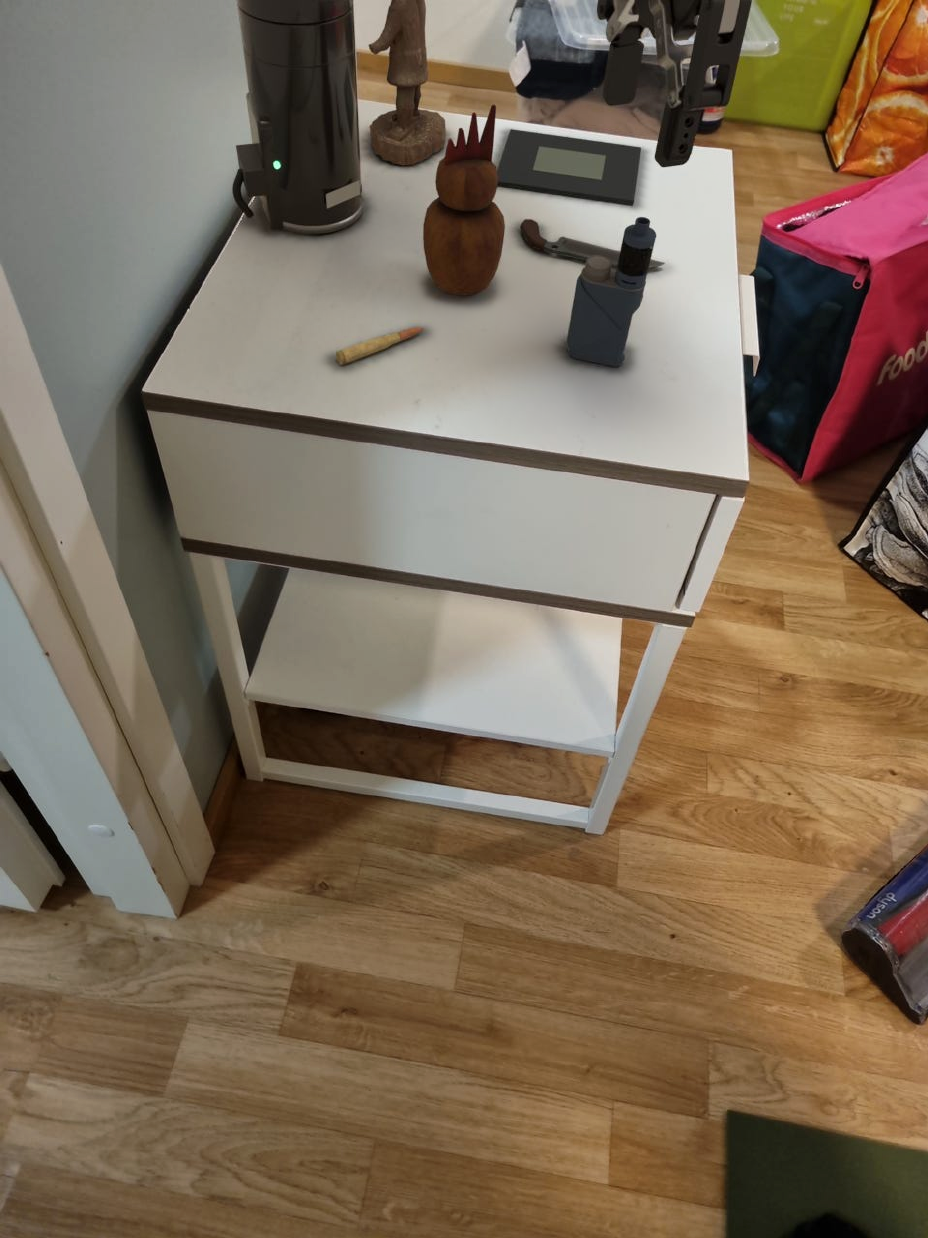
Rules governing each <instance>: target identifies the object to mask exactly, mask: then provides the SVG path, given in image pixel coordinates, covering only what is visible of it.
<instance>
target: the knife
mask: <svg viewBox="0 0 928 1238" xmlns="http://www.w3.org/2000/svg"><path fill="white" fill-rule="evenodd" d="M520 231H521V235H522V236H523V237H524V239H525V241H526V242H527V244H528V245H529V246H531V247H533V248H534V249H536V250H538V251H541V252H547V253H549V254H552V255H557V256H565V257H569V258H570V257H571V258H573V259H578V260H582V261H585V262H586V259H587V258H588V257H590V256H593V255H601V256H605V257H607V258H609V259H610V260H611V262H612V267H611V268H613V269H617V264H618V260H619V255H620V250H616V249H612V248H609V247H604V246H600V245H597V244H593V243H589V242H585V241H582V240H577V239H573V238H569V237H566V236H560V237H559V238H558V239H557V241H549V240H548V239H546V238H544V237H542V236H541V233H540V226H539V222H537V221H536V220H534V219H531V218H525V219H523V220H522V222H521V224H520ZM663 265H665V262H663V261H659V260H656V259H652V258H651V260H650V264H649V268H648V270H649V269H654V268H658V267H661V266H663Z"/></svg>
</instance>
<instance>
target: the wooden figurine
mask: <svg viewBox="0 0 928 1238" xmlns="http://www.w3.org/2000/svg"><path fill="white" fill-rule="evenodd" d="M496 114H497V106H496V104H492V105H491V106H490V109H489V113H488V115H487V118H486V121H485V124H484V127H483V130H482V134H481V137H479V127H478V116H477V113H476V111H475V112H472V113H471V117H470V122H469V129H468V133H467V139H466V136H465V130H464V128H463V127H459V128H458V134H457V138H456V145H455V143H454V141H453V139H452V138H449V139H448V140H447V144H446V148H445V153H444V157H443V158H442V159H440V160H439V162H438V165H437V168H436V172H435V181H434V182H435V183H434V184H435V191H436V193H437V196H438V197H437V198H435V199H434V200H433V201H432V202H431V203H430V204H429V205H428V206H427V208H426V211H425V216H424V221H423V224H422V229H423V230H422V241H423V251H424V257H425V263H426V268H427V271H428V272H429V276H430V278H431V280H432V283H433V284H434V286H436V287H437V288H439V289H440V290H441V291H443V292H446V293H449V294H451V295H456V296H472V295H477V294H479V293H481V292H483V291H486V290H487V288H489V286H490V285H491V283H492V282H493V279H494V278H495V275H496V273H497V271H498V268H499V264H500V261H501V258H502V252H503V248H504V247H503V245H504V240H505V232H506V231H505V229H506V222H505V216H504V214H503V213H502V211H501V210H500V207H498V205H497V203H496V202H494V199H495V196H496V193H497V189H498V186H497V184H498V173H497V169H498V168H497V166H496V165H495V163H494V162H493V153H494V144H495V143H494V141H495V131H496V130H495V129H496Z"/></svg>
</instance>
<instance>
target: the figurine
mask: <svg viewBox="0 0 928 1238" xmlns="http://www.w3.org/2000/svg"><path fill="white" fill-rule="evenodd" d="M426 17H427V7H426V0H390V5H389V6H388V9H387V13H386V19H385V23H384V27H383V29H382V31H381V33H380V35H379V37H378V38H377V39H376V40H375V41H373V42H371V43H369V44H368V48H369V50H370V52H371V53H372V54H373V55H375V56H377V55H379V53H381V52H386V51H388V50H389V51H388V68H387V74H386V81H387V83H388V84H389V85H390V86H393V87H395V88H396V96H395V109H394V110H390V111H387V112H385V113H383V114H380V115H379V116H377V118H376V119H374V120H373V121H372V122H371V124H370V125H369V135H370V145H371V147H372V148H373V149H374V150H373V151H374V152H373V153H374V154H375V155H378V156H380V157H381V159H382V160H383V161H385V162H386V161H387V162H390V163H391V164H393V165H394V164H396V165H400V166H406V165H407V166H409V165H415V164H416V163H421V162H423V161H424V160H426V159H430V157H431V155H433V154H437V153H439V152H440V150H441V149H442V148H444V147H445V141H446V136H447V128H446V119H445V118H444V117H443V116H442V115H441V114H439V112H435V111H430V110H428V109H420V108H419V106H420V101H421V98H422V92H421V91H422V90H421V89H422V88H421V87H422V85H424V84H425V83H427V81H428V79H429V67H428V56H427V55H428V53H427V45H426V20H427V19H426Z"/></svg>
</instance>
